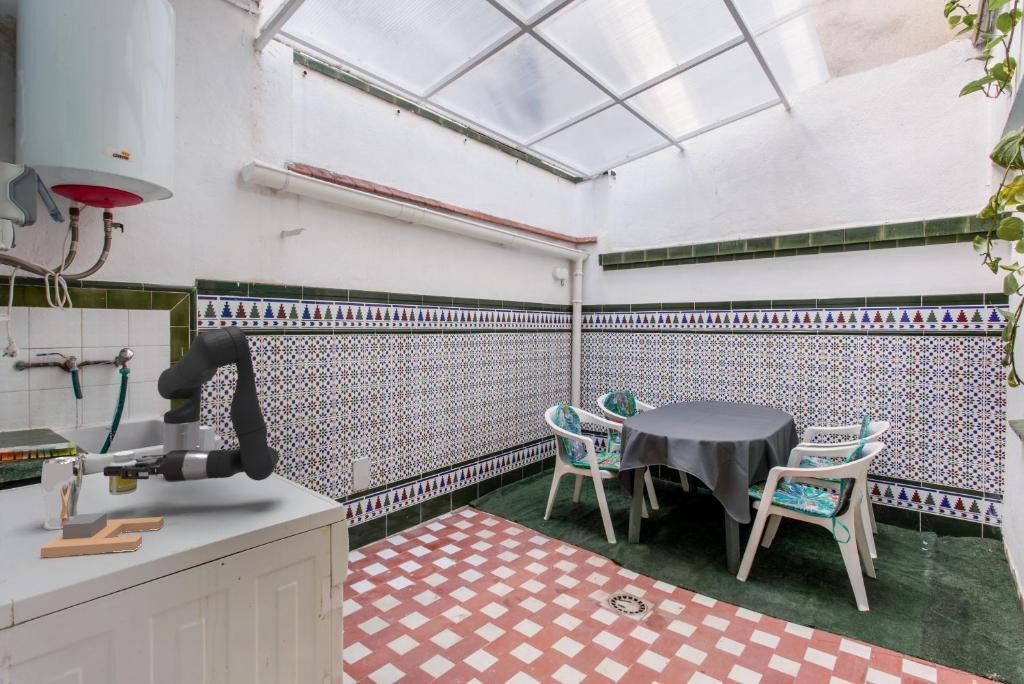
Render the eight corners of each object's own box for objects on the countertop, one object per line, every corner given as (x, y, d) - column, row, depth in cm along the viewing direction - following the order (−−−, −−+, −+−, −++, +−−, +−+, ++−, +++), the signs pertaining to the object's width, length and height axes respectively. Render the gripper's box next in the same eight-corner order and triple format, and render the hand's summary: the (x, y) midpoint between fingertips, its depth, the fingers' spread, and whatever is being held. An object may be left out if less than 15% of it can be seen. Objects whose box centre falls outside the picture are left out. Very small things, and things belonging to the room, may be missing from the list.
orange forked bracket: (163, 525, 115) (164, 503, 115) (135, 551, 102) (135, 527, 102) (81, 530, 111) (82, 508, 111) (40, 558, 98) (41, 533, 98)
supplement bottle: (103, 495, 118) (103, 455, 118) (121, 487, 124) (122, 449, 124) (124, 496, 118) (125, 456, 118) (142, 488, 124) (143, 450, 123)
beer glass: (46, 533, 109) (47, 465, 109) (36, 526, 113) (37, 460, 112) (86, 523, 115) (87, 459, 115) (75, 517, 119) (76, 454, 118)
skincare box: (215, 461, 170) (215, 427, 170) (203, 464, 166) (204, 429, 166) (201, 459, 172) (202, 425, 172) (190, 462, 168) (191, 427, 168)
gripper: (200, 443, 131) (125, 445, 127) (179, 457, 118) (94, 460, 113) (199, 471, 132) (125, 474, 127) (178, 489, 118) (94, 493, 113)
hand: (111, 467), depth 120 cm, fingers closed on supplement bottle, 5 cm apart
